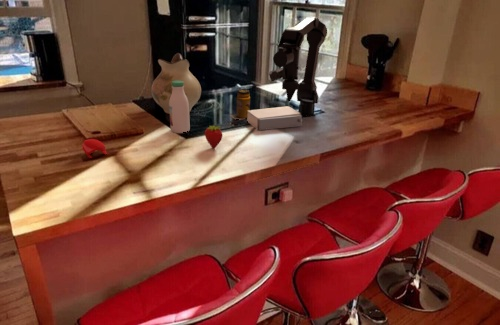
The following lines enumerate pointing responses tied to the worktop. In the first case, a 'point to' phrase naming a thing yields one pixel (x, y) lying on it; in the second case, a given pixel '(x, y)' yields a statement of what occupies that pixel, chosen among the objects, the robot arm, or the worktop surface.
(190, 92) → the pitcher
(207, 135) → the strawberry
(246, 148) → the worktop surface
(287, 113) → the cabinet
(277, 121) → the door
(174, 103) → the milk bottle
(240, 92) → the condiment
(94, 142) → the cap
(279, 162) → the worktop surface
